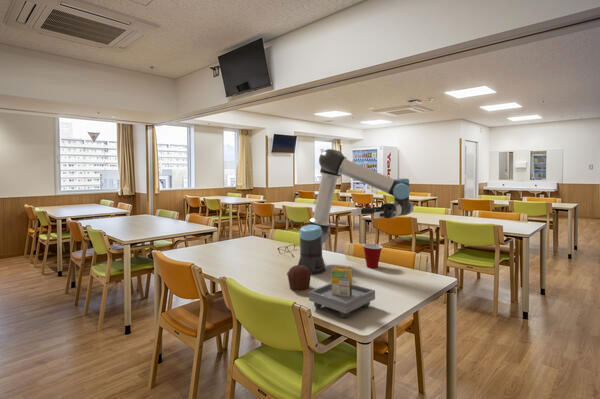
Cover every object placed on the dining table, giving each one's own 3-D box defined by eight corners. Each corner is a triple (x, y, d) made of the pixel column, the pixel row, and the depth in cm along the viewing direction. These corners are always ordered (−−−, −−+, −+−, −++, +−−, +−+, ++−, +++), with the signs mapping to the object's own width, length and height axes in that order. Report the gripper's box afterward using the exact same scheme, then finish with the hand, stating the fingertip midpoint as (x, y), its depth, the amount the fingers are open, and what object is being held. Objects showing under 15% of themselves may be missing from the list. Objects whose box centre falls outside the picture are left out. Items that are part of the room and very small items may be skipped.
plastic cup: (383, 270, 180) (383, 247, 179) (362, 269, 182) (362, 247, 181) (382, 264, 190) (382, 243, 189) (362, 263, 192) (362, 242, 191)
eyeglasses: (295, 249, 232) (295, 243, 232) (311, 253, 220) (311, 247, 220) (276, 253, 221) (276, 247, 221) (292, 258, 209) (292, 251, 209)
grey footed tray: (309, 307, 133) (308, 291, 132) (338, 295, 145) (338, 280, 145) (346, 321, 120) (346, 303, 119) (375, 306, 132) (375, 290, 132)
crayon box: (352, 294, 132) (351, 265, 131) (349, 297, 129) (349, 267, 128) (333, 292, 135) (333, 263, 134) (331, 294, 132) (331, 265, 131)
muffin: (315, 290, 152) (315, 268, 151) (291, 293, 148) (290, 270, 148) (307, 282, 163) (306, 261, 162) (284, 284, 160) (284, 263, 159)
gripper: (412, 220, 164) (384, 225, 150) (370, 215, 183) (343, 219, 169) (412, 204, 163) (384, 208, 149) (370, 201, 182) (342, 204, 169)
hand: (362, 214), depth 159 cm, fingers open, 13 cm apart
